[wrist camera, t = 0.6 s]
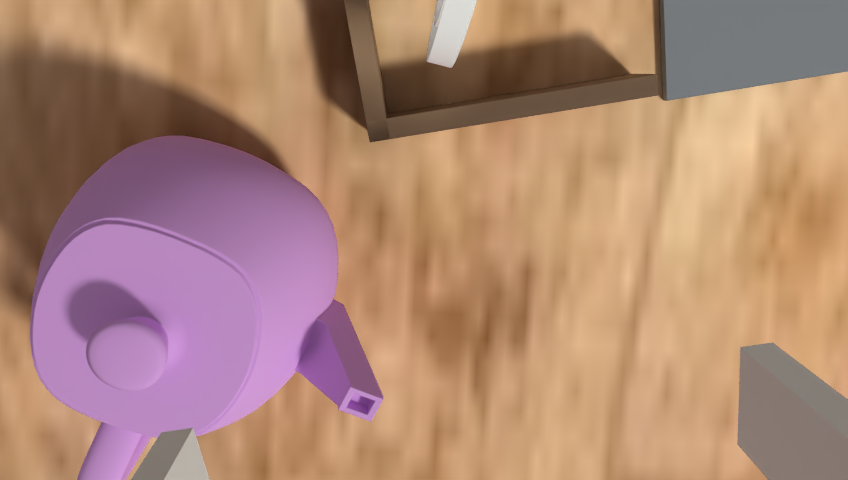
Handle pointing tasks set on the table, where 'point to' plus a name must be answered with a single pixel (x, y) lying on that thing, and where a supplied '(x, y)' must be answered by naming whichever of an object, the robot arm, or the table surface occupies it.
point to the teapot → (189, 298)
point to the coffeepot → (449, 30)
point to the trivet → (749, 43)
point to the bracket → (478, 109)
